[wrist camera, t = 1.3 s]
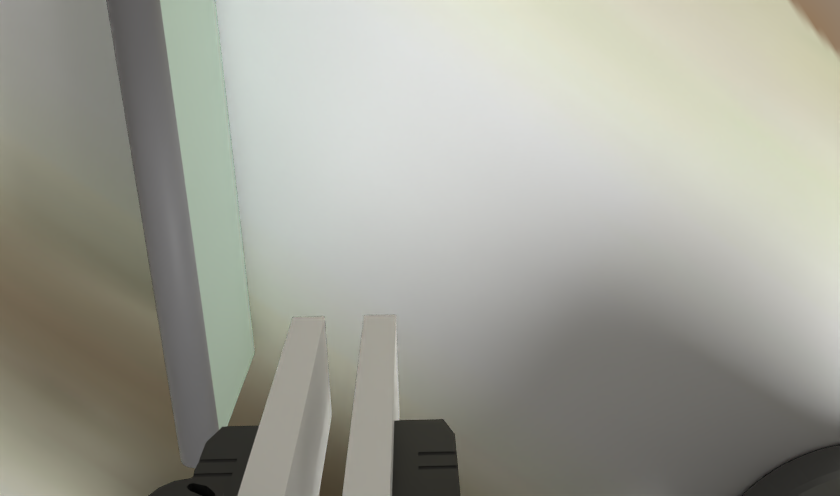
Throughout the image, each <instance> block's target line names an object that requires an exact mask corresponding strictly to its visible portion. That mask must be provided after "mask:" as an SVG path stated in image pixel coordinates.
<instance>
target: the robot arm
mask: <svg viewBox="0 0 840 496" xmlns="http://www.w3.org/2000/svg"><path fill="white" fill-rule="evenodd" d="M399 414H400V412H399V384H398V356H397V328H396V315H364V319H363V327H362V335H361V344H360V352H359V360H358V369H357V377H356V385H355V394H354V402H353V410H352V419H351V427H350V435H349V444H348V452H347V460H346V469H345V477H344V485H343V494H342V496H460V486H459V475H458V464H457V455H456V443H455V434H454V433H453V431H452V430H451V429H450V427H449V426H448V425H447V424H446V422H445V421H444V420H443V419H437V420H399ZM331 418H332V408H331V395H330V381H329V368H328V354H327V340H326V327H325V316H320V317H293V318H292V321H291V324H290V327H289V330H288V334H287V337H286V340H285V343H284V347H283V350H282V353H281V356H280V360H279V363H278V366H277V369H276V373H275V376H274V379H273V382H272V386H271V389H270V392H269V395H268V398H267V402H266V405H265V408H264V411H263V415H262V418H261V421H260V424H259V426H226V427H222V428H221V429H220V430H218V431H217V432H216V433H215V434H214V435H213V436H212V437H211V438H210V439H209V440H208V441H207V442H206V444H205V446H204V449H203V451H202V454H201V456H200V459H199V463H198V464H197V466H196V469H195V471H194V476H193V477H192V478H190V479H184V480H179V481H174V482H171V483H169V484H167V485H164V486H162V487H159V488H158V489H157V490H155V491H154V492H153V493H151V494H150V495H149V496H319V491H320V485H321V479H322V473H323V467H324V461H325V454H326V448H327V442H328V436H329V430H330V424H331ZM742 496H840V445H837V446H832V447H828V448H824V449H821V450H818V451H814V452H811V453H809V454H806V455H803V456H801V457H799V458H796V459H794V460H792V461H790V462H788V463H786V464H784V465H782V466H780V467H779V468H777V469H775V470H774V471H772V472H771V473H769V474H768V475H766V476H765V477H763V478H762V479H761V480H759V481H758V482H757V483H756V484H754V485H753V486H752V487H751V488H750V489H749V490H748V491H746V492H745V493H744V494H743V495H742Z"/></svg>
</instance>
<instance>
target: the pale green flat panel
mask: <svg viewBox="0 0 840 496" xmlns="http://www.w3.org/2000/svg"><path fill="white" fill-rule="evenodd" d="M106 1H107V7H108V13H109V19H110V25H111V32H112V38H113V44H114V50H115V56H116V62H117V69H118V75H119V81H120V87H121V93H122V100H123V106H124V112H125V118H126V124H127V130H128V137H129V143H130V149H131V155H132V161H133V167H134V174H135V180H136V186H137V192H138V198H139V204H140V211H141V217H142V223H143V229H144V235H145V242H146V248H147V254H148V260H149V266H150V272H151V279H152V285H153V291H154V297H155V303H156V309H157V316H158V322H159V328H160V334H161V340H162V346H163V353H164V359H165V365H166V371H167V377H168V384H169V390H170V396H171V402H172V408H173V414H174V421H175V427H176V433H177V439H178V445H179V451H180V458H181V462H182V464H183V465H185V466H187V467H190V468H196V466H197V464H198V463H199V459H200V456H201V454H202V451H203V449H204V446H205V444H206V442H207V441H208V440H209V439H210V438H211V437H212V436H213V435H214V434H215V433H216V432H217V431H218V430H220V429H221V428H222V427H226V426H228V423H229V421H230V418H231V415H232V413H233V410H234V407H235V405H236V402H237V399H238V397H239V394H240V391H241V388H242V386H243V383H244V380H245V378H246V375H247V372H248V370H249V367H250V364H251V362H252V359H253V356H254V354H255V348H254V339H253V331H252V322H251V313H250V304H249V295H248V286H247V277H246V268H245V259H244V251H243V242H242V233H241V224H240V215H239V206H238V197H237V188H236V179H235V171H234V162H233V153H232V144H231V135H230V126H229V117H228V108H227V99H226V91H225V82H224V73H223V64H222V55H221V46H220V37H219V28H218V19H217V11H216V2H215V0H106Z"/></svg>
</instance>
